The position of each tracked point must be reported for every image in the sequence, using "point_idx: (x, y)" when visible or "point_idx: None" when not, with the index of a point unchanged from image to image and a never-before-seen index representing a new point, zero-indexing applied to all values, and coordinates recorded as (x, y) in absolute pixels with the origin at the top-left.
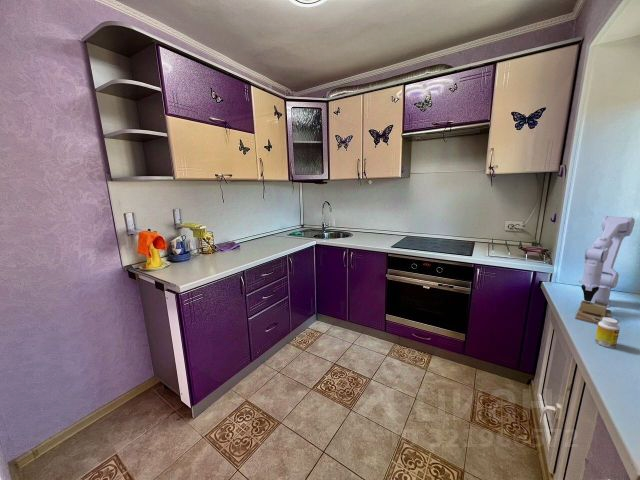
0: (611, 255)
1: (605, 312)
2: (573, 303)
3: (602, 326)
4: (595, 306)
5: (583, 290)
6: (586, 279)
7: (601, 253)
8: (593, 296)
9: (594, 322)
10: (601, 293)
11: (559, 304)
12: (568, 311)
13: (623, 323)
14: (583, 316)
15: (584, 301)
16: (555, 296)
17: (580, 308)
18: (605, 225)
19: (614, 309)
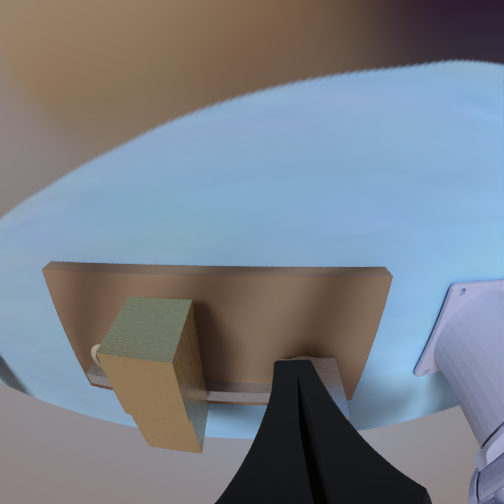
0: None
1: (252, 401)
2: (400, 215)
3: None
4: (132, 415)
5: (230, 488)
6: None
7: None
8: (476, 350)
9: (74, 344)
10: (470, 409)
11: (282, 110)
12: (142, 205)
13: (210, 420)
14: (85, 307)
15: (156, 379)
16: (474, 88)
17: (124, 310)
18: None
19: (401, 388)
